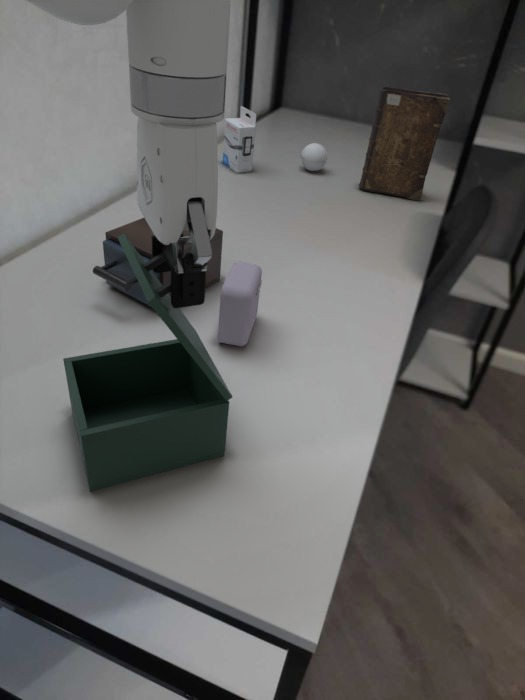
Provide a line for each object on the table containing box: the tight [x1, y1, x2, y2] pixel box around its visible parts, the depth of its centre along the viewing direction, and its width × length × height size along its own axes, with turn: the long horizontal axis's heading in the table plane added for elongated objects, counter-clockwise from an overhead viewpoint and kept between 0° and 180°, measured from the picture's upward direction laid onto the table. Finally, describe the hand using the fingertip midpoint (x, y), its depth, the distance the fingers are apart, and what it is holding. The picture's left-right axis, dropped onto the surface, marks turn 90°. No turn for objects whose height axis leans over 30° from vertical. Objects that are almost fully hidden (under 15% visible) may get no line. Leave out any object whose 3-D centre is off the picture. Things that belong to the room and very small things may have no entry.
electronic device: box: [217, 260, 263, 347], centre depth 80 cm, size 10×5×10 cm, turn 170°
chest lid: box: [118, 234, 233, 401], centre depth 55 cm, size 16×13×5 cm
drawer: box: [92, 239, 160, 308], centre depth 86 cm, size 18×11×8 cm, turn 145°
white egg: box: [300, 142, 328, 172], centre depth 144 cm, size 10×7×7 cm
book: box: [358, 86, 451, 201], centre depth 132 cm, size 17×7×25 cm, turn 75°
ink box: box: [222, 105, 257, 174], centre depth 138 cm, size 8×5×15 cm, turn 32°
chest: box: [63, 338, 230, 492], centre depth 61 cm, size 16×13×9 cm
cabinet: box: [104, 217, 224, 296], centre depth 89 cm, size 15×13×10 cm
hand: (177, 285), depth 52 cm, fingers closed on chest lid, 6 cm apart
